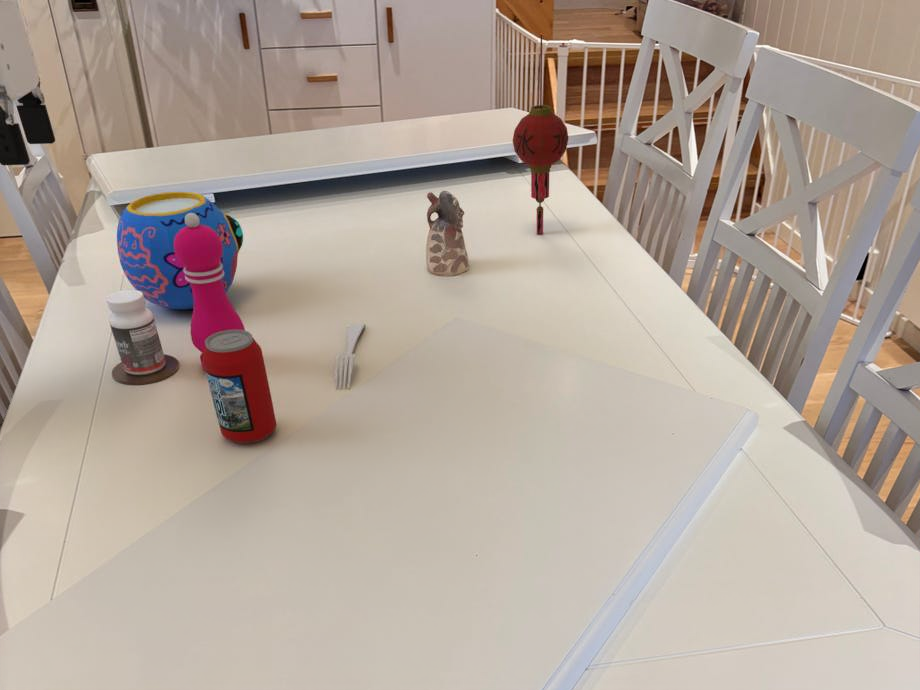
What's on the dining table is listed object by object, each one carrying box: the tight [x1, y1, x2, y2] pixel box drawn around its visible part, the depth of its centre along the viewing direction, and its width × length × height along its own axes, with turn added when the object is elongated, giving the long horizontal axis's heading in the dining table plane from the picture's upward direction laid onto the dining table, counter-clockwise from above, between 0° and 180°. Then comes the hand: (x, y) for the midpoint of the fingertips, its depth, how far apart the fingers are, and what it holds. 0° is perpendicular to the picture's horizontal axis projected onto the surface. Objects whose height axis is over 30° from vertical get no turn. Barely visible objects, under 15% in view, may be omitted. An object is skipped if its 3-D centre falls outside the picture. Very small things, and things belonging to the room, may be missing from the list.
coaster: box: [111, 353, 180, 386], centre depth 126 cm, size 9×9×1 cm
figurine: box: [425, 190, 470, 277], centre depth 148 cm, size 7×7×12 cm
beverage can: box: [202, 330, 277, 444], centre depth 108 cm, size 7×7×12 cm
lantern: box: [512, 34, 569, 236], centre depth 153 cm, size 10×10×30 cm
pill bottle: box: [106, 289, 165, 375], centre depth 123 cm, size 6×6×10 cm
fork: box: [333, 323, 366, 390], centre depth 127 cm, size 3×21×3 cm, turn 0°
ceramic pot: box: [116, 191, 244, 310], centre depth 139 cm, size 18×18×15 cm
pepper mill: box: [174, 213, 246, 373], centre depth 120 cm, size 7×7×20 cm
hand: (29, 153), depth 106 cm, fingers open, 9 cm apart
